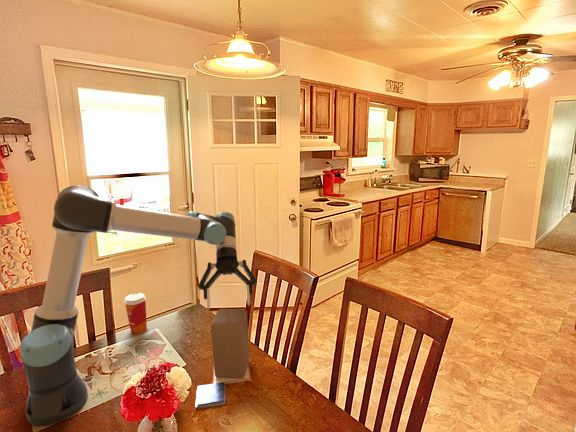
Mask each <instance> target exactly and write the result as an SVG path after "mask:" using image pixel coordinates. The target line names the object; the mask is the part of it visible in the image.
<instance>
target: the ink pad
mask: <svg viewBox="0 0 576 432" xmlns="http://www.w3.org/2000/svg"><path fill="white" fill-rule="evenodd" d="M226 401H227V400H226V384H225V382H221V383H214V384H213V383H209V384H207V383H206V384H201V385H198V386H197V389H196V398H195V409H196V410H198V409H197V408H200V409H205V408H211V407H217V406H218V407H219V406H225V405H226Z"/></svg>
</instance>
